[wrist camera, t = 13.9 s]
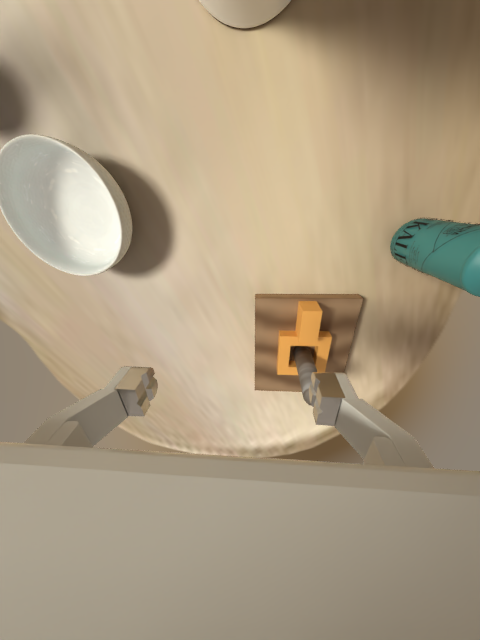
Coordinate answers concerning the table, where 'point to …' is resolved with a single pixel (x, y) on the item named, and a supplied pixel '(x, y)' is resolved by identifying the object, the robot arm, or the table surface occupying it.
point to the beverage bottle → (441, 251)
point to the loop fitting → (304, 339)
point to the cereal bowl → (63, 205)
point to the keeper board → (286, 321)
